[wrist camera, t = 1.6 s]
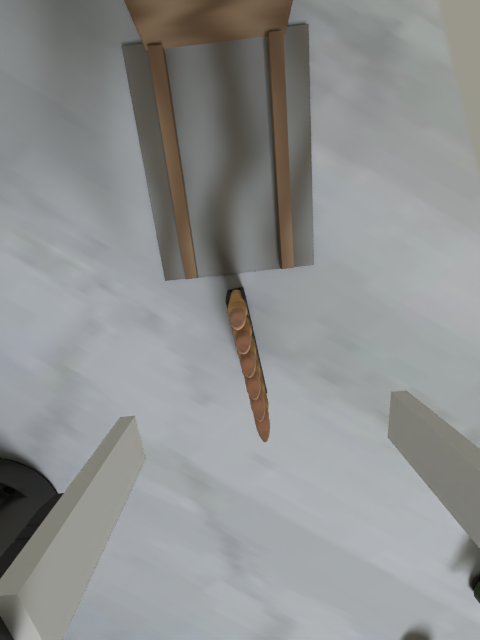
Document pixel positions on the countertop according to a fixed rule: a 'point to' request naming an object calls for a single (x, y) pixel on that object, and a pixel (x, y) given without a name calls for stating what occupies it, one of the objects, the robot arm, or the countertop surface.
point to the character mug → (477, 591)
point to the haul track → (224, 133)
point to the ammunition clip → (249, 358)
